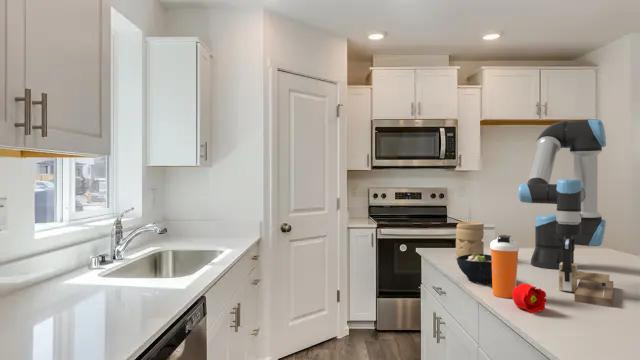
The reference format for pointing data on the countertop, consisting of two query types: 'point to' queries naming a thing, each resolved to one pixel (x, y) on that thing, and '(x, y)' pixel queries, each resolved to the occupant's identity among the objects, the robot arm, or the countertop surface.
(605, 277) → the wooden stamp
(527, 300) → the flower
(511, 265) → the shaker bottle
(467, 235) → the container
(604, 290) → the plank
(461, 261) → the bowl
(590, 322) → the countertop surface
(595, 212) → the robot arm
